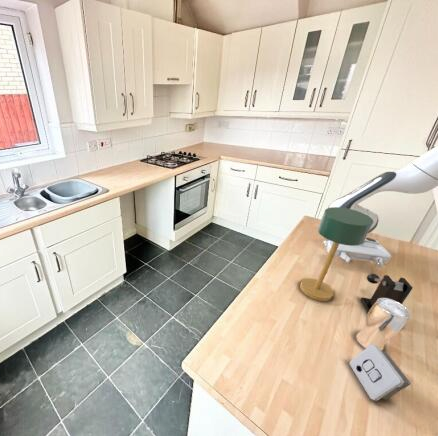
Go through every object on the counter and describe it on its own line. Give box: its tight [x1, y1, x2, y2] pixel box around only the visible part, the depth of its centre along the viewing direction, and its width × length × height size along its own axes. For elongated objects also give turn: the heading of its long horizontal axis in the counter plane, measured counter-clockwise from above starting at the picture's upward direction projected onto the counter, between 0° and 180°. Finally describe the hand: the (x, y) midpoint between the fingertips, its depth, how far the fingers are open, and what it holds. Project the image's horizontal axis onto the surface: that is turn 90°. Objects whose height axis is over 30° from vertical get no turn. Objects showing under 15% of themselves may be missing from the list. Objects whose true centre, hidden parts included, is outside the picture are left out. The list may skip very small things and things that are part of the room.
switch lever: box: [366, 273, 404, 291], centre depth 80 cm, size 14×3×3 cm, turn 163°
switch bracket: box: [360, 274, 414, 313], centre depth 77 cm, size 9×7×14 cm
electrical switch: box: [349, 345, 412, 402], centre depth 60 cm, size 9×5×9 cm, turn 173°
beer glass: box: [355, 298, 411, 351], centre depth 67 cm, size 7×7×15 cm
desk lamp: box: [299, 207, 373, 302], centre depth 82 cm, size 12×12×32 cm
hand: (365, 263), depth 91 cm, fingers open, 8 cm apart
